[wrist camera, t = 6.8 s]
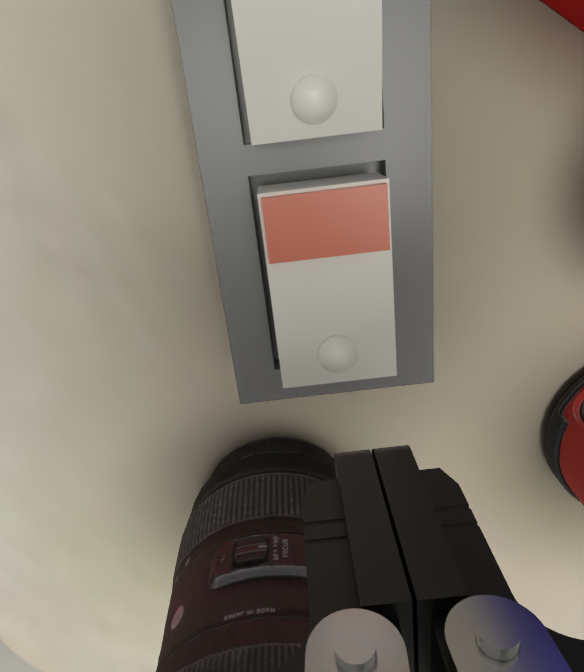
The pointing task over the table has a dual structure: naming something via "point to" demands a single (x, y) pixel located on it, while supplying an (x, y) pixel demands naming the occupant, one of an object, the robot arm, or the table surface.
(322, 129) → the rocker
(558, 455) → the speaker
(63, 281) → the table surface
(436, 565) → the robot arm
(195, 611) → the camera lens
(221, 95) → the power strip
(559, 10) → the puzzle toy
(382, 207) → the rocker
